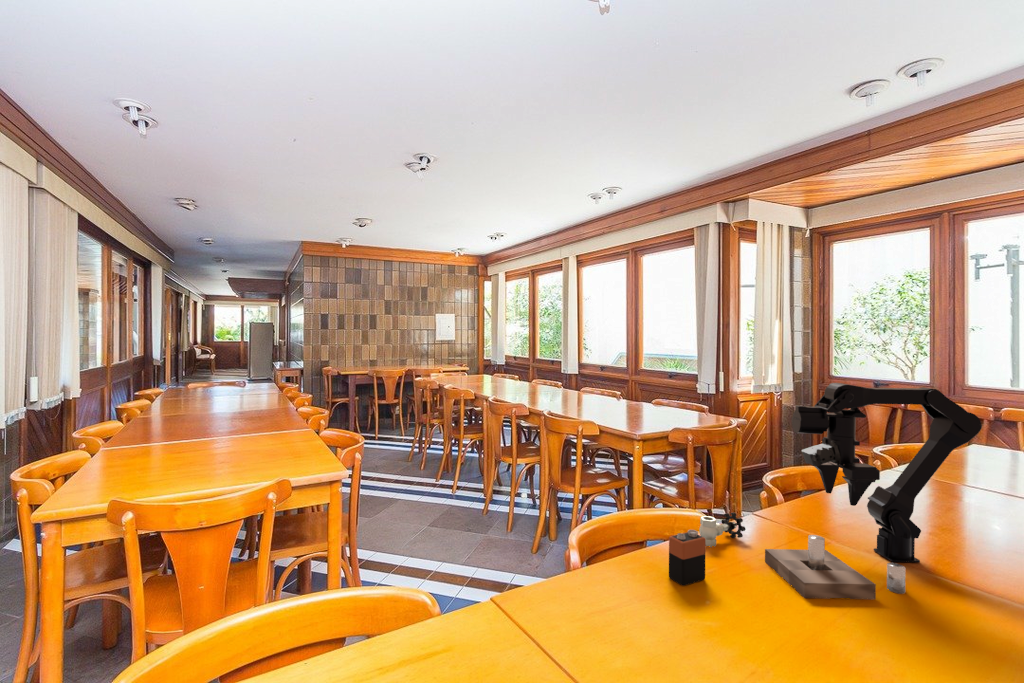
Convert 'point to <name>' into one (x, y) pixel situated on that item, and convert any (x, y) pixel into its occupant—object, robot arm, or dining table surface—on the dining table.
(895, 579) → the short pin
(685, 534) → the battery
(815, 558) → the long pin
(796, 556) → the hole plate
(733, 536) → the valve
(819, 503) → the dining table surface
